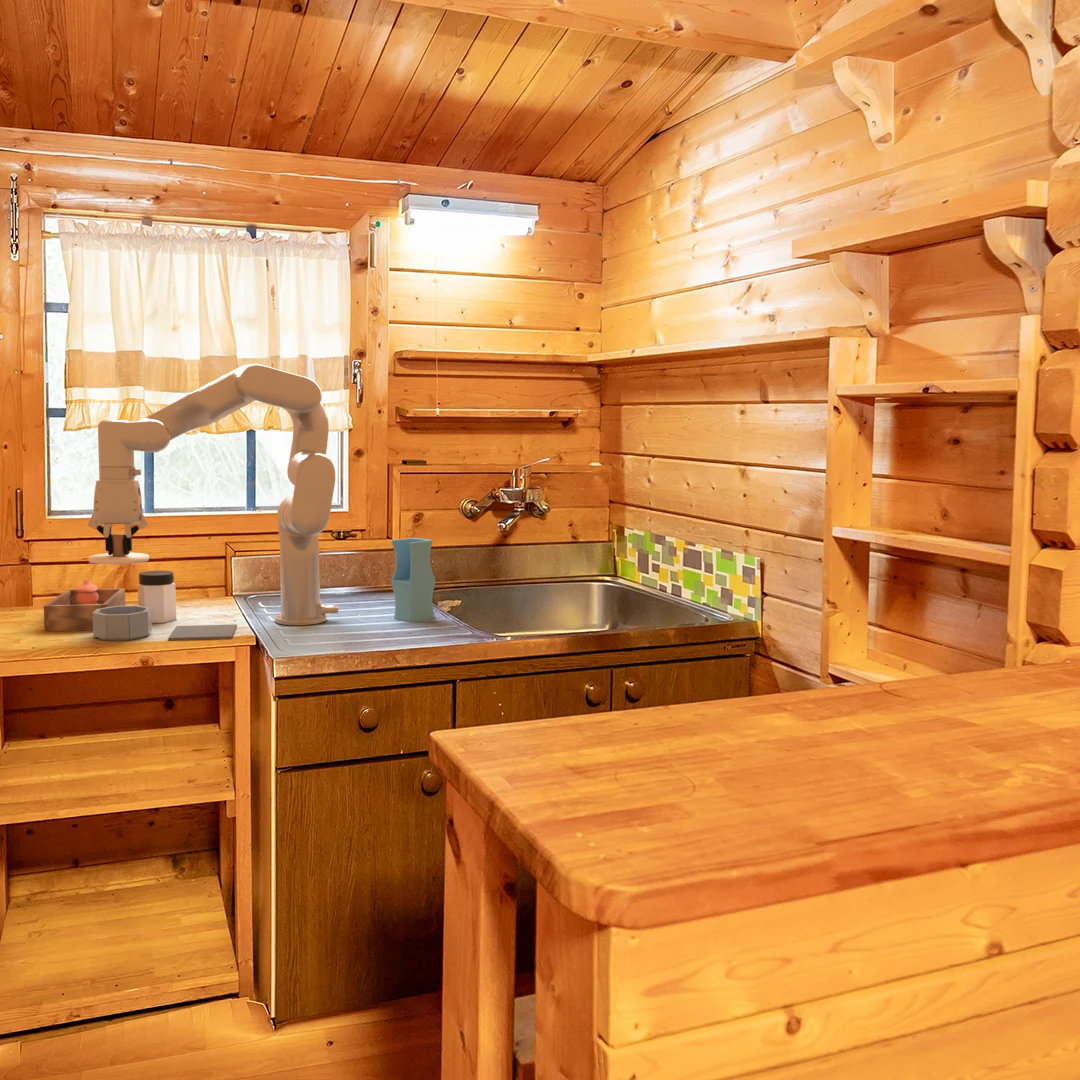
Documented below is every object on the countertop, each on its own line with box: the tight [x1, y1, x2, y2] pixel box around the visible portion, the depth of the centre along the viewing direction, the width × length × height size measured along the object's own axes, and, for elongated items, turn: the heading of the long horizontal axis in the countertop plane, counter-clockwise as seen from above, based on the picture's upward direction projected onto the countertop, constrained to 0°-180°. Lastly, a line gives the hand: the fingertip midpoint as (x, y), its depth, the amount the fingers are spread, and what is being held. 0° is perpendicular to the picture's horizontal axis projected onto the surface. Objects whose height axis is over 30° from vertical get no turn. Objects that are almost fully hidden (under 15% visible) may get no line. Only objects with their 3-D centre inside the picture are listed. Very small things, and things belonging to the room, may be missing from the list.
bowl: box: [92, 604, 153, 642], centre depth 254 cm, size 12×12×6 cm
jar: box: [137, 570, 177, 624], centre depth 272 cm, size 9×8×12 cm
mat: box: [167, 623, 238, 641], centre depth 258 cm, size 14×14×1 cm
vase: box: [390, 537, 436, 623], centre depth 278 cm, size 8×8×20 cm
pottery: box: [76, 579, 99, 605], centre depth 269 cm, size 18×10×10 cm, turn 11°
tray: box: [43, 587, 126, 632], centre depth 271 cm, size 14×24×6 cm, turn 11°
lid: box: [88, 533, 150, 565], centre depth 252 cm, size 13×13×6 cm
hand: (119, 553), depth 252 cm, fingers closed on lid, 2 cm apart
